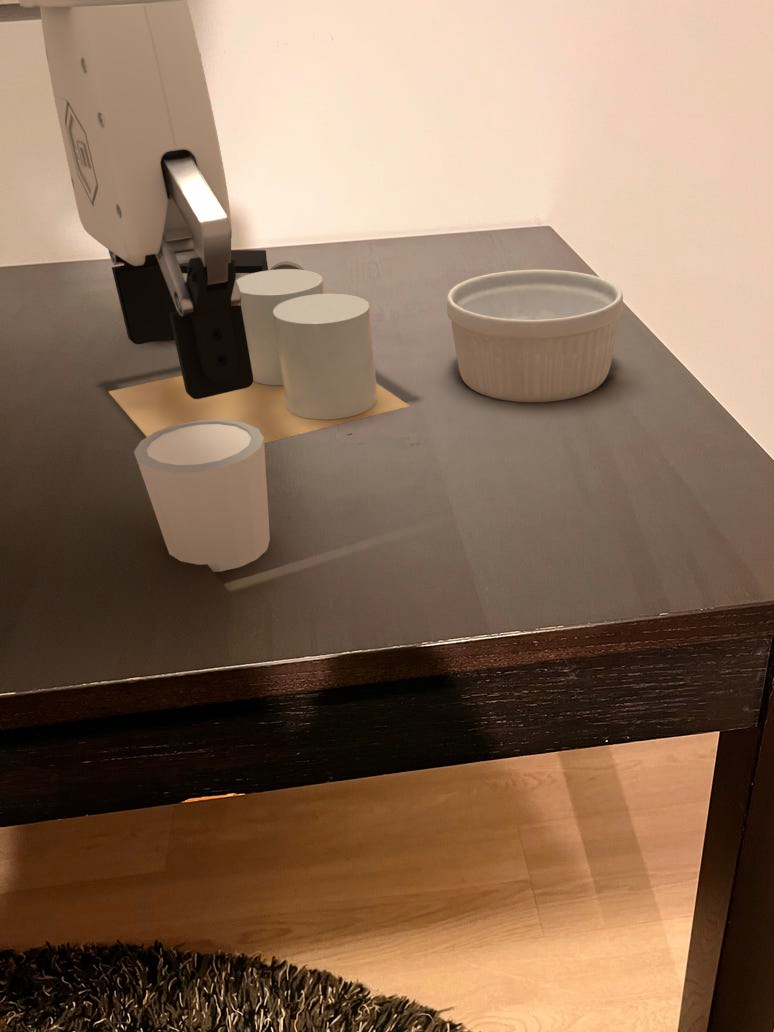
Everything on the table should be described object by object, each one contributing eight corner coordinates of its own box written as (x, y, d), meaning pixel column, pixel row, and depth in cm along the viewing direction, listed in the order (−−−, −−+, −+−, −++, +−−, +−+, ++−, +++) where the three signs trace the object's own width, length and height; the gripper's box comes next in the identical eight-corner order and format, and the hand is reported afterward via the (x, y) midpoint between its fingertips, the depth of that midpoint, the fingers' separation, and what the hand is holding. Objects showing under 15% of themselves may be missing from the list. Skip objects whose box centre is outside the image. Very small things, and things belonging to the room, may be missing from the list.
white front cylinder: (308, 427, 72) (295, 329, 68) (272, 397, 76) (258, 304, 72) (393, 406, 74) (386, 311, 70) (353, 378, 79) (344, 287, 75)
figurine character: (309, 332, 95) (142, 325, 92) (309, 248, 90) (134, 238, 88) (309, 357, 89) (132, 350, 87) (309, 269, 85) (122, 259, 82)
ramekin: (436, 360, 84) (432, 274, 80) (589, 346, 86) (593, 261, 82) (468, 423, 73) (465, 327, 69) (641, 404, 75) (648, 311, 71)
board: (173, 474, 67) (171, 466, 67) (109, 398, 79) (107, 391, 78) (410, 413, 75) (410, 405, 74) (321, 352, 86) (320, 345, 86)
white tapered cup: (256, 590, 55) (235, 474, 51) (139, 581, 56) (110, 466, 52) (296, 529, 61) (280, 420, 57) (189, 522, 62) (166, 414, 58)
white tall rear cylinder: (266, 392, 77) (252, 300, 73) (234, 366, 82) (219, 278, 78) (346, 374, 80) (337, 284, 76) (311, 349, 85) (301, 264, 81)
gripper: (-26, -34, 47) (73, 334, 56) (61, -35, 34) (168, 436, 44) (136, -42, 50) (203, 309, 59) (268, -45, 37) (325, 397, 47)
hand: (188, 363), depth 52 cm, fingers open, 9 cm apart
